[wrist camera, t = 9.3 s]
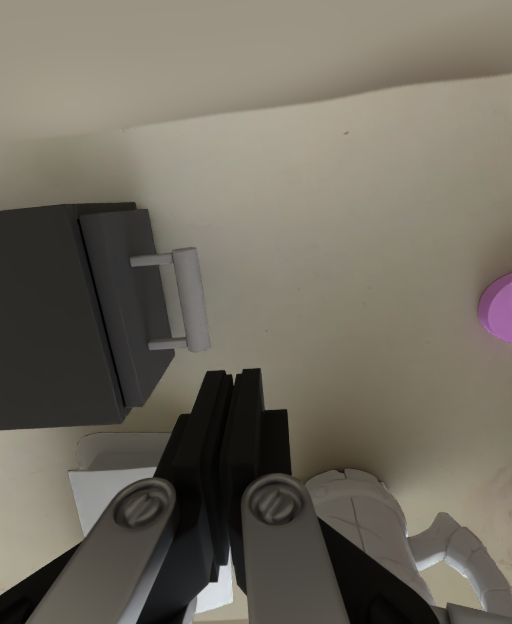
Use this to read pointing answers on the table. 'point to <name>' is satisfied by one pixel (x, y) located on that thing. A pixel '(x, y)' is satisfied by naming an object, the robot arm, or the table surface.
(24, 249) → the dark grey drawer cabinet
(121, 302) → the dark grey drawer
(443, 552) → the mug
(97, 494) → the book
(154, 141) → the table surface
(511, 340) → the bracket
